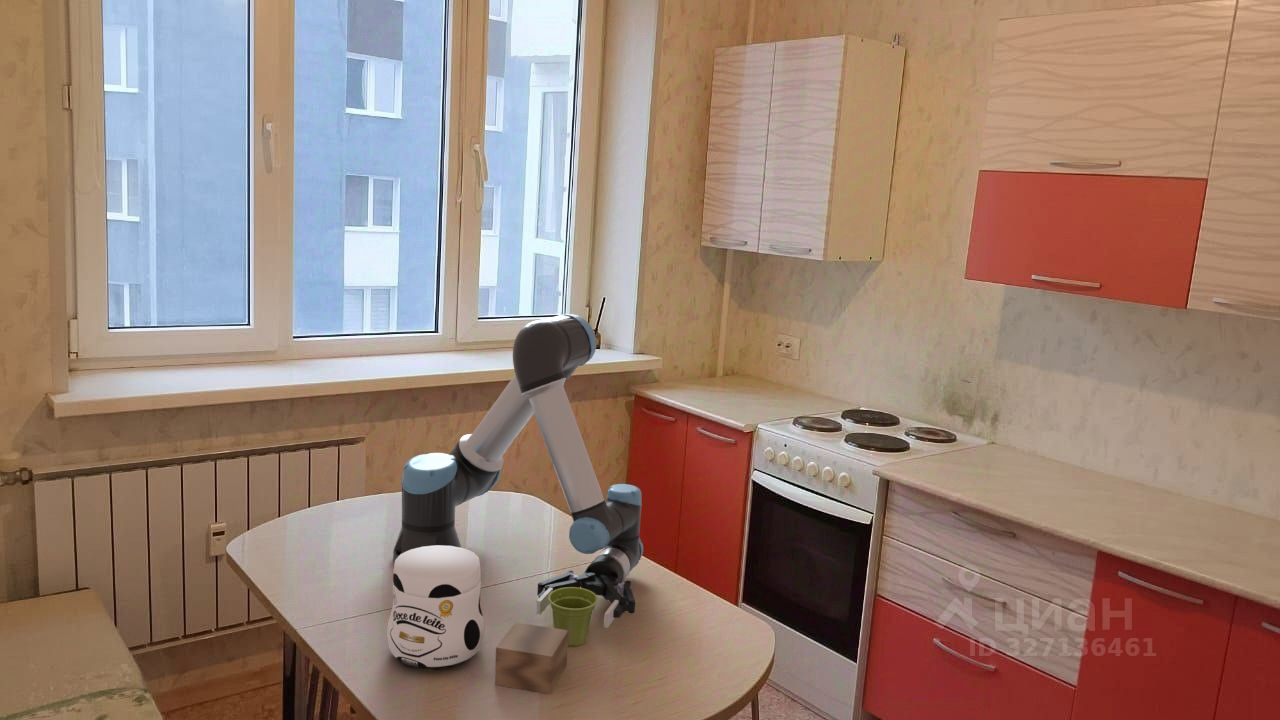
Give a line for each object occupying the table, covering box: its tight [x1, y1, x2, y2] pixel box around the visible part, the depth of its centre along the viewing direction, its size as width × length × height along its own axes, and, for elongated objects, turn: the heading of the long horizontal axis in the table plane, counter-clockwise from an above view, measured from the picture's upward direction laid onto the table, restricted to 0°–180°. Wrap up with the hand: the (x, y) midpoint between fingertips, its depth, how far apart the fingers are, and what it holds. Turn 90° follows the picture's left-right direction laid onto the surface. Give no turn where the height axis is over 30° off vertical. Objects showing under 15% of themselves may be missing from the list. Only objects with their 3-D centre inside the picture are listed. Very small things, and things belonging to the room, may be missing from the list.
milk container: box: [386, 545, 485, 670], centre depth 176 cm, size 17×17×18 cm
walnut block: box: [494, 621, 569, 695], centre depth 171 cm, size 10×10×7 cm
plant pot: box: [548, 587, 599, 647], centre depth 185 cm, size 9×9×9 cm
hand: (571, 614), depth 183 cm, fingers open, 13 cm apart
